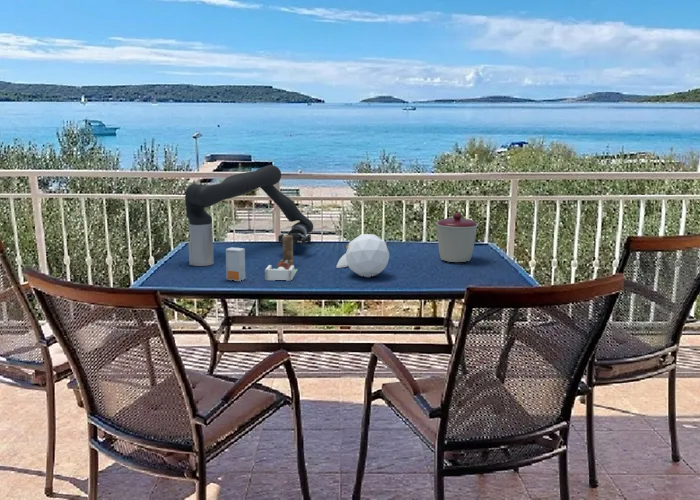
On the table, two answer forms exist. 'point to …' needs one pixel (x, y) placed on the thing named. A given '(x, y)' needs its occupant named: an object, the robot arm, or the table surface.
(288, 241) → the brown thin block
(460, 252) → the canister
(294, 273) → the pale green square plate
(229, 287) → the table surface
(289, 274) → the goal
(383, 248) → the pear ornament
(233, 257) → the skincare box
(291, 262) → the guides
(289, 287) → the table surface
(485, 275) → the table surface
